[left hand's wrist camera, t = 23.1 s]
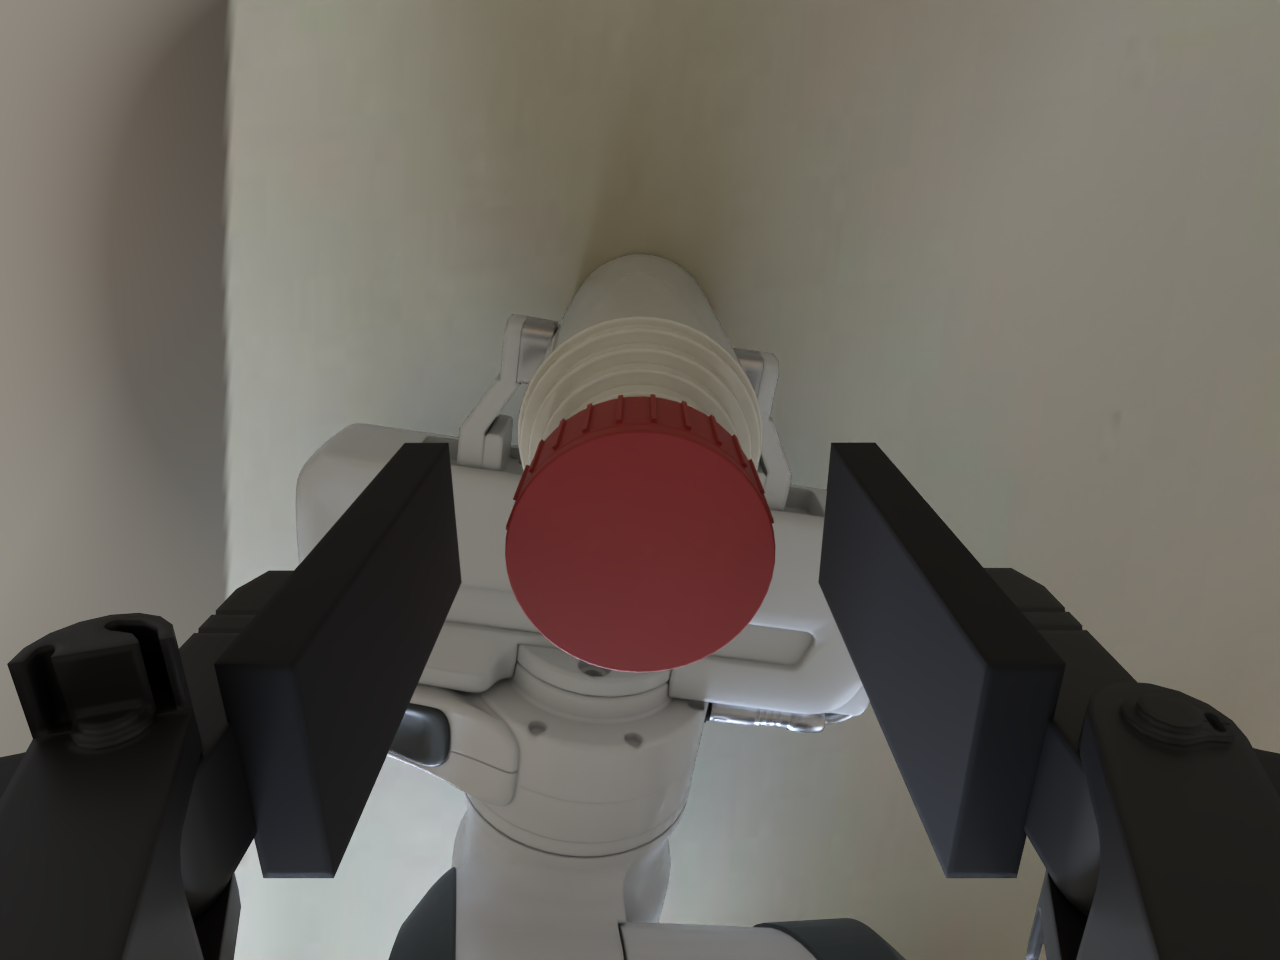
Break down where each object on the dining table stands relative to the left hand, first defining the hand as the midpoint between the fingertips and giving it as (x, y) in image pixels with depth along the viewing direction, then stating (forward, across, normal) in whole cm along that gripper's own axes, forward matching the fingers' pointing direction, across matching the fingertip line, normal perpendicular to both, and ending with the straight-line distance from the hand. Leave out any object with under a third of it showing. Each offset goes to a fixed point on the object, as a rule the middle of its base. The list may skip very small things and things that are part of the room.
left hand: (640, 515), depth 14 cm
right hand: (+12, 0, -1) cm, 12 cm away
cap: (-1, 0, 0) cm, 1 cm away
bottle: (+18, 0, 0) cm, 18 cm away
